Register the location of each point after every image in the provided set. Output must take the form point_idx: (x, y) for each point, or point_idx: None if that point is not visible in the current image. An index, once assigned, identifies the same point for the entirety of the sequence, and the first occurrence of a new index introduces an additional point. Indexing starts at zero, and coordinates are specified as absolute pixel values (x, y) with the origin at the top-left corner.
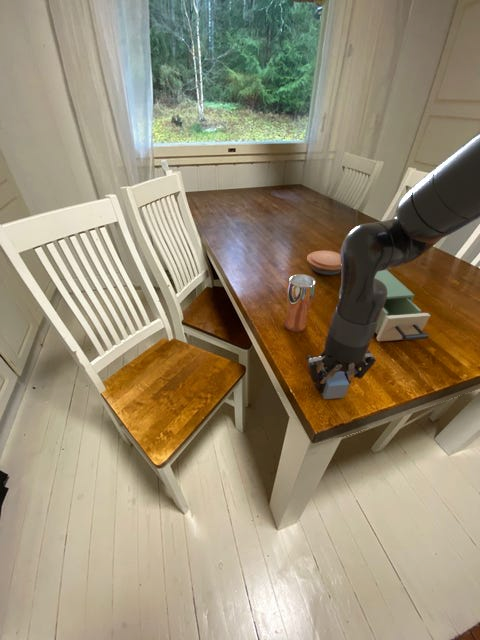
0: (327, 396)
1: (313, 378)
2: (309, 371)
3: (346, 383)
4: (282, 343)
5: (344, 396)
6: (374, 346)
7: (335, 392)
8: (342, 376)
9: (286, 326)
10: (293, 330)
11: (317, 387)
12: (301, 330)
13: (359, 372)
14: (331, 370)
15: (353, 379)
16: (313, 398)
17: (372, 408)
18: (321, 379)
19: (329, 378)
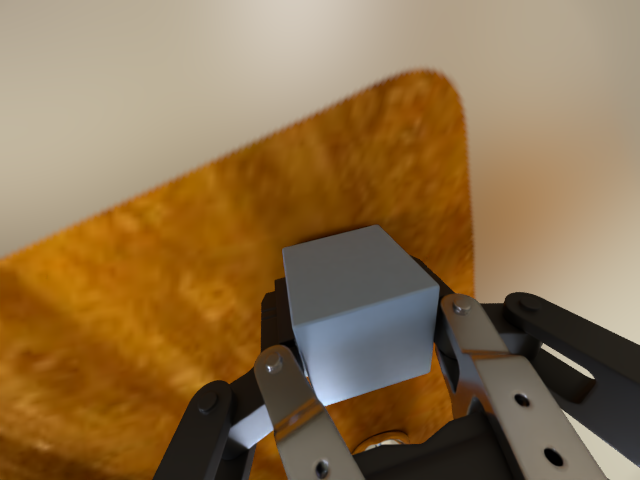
0: (377, 235)
1: (578, 321)
2: (559, 359)
3: (315, 328)
4: (433, 393)
5: (284, 251)
6: (128, 466)
7: (352, 259)
8: (326, 364)
9: (409, 441)
10: (392, 436)
11: (430, 271)
12: (368, 441)
13: (220, 450)
14: (600, 473)
15: (257, 363)
16: (411, 225)
17: (133, 209)
18: (488, 322)
19: (411, 336)
